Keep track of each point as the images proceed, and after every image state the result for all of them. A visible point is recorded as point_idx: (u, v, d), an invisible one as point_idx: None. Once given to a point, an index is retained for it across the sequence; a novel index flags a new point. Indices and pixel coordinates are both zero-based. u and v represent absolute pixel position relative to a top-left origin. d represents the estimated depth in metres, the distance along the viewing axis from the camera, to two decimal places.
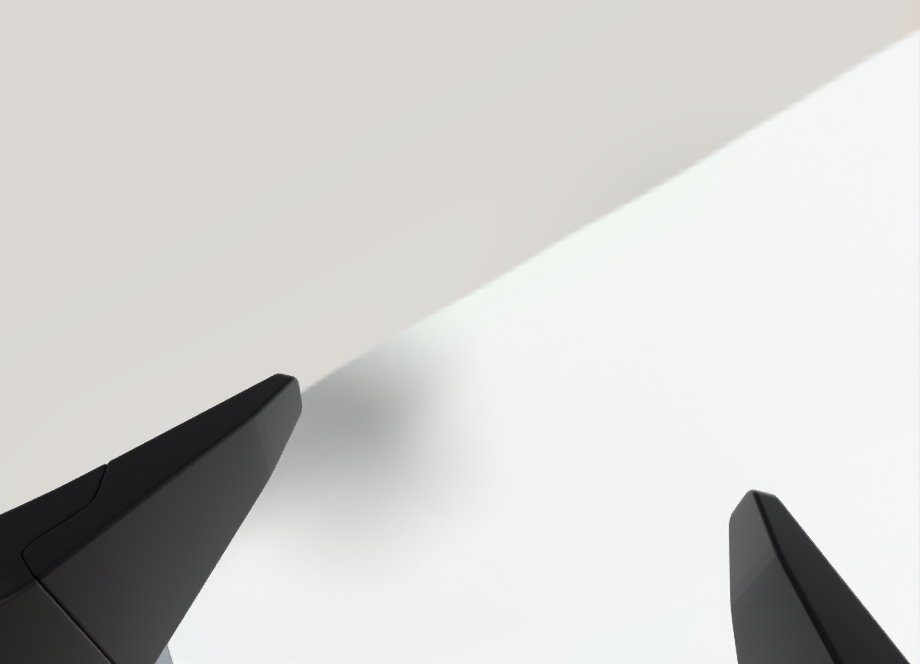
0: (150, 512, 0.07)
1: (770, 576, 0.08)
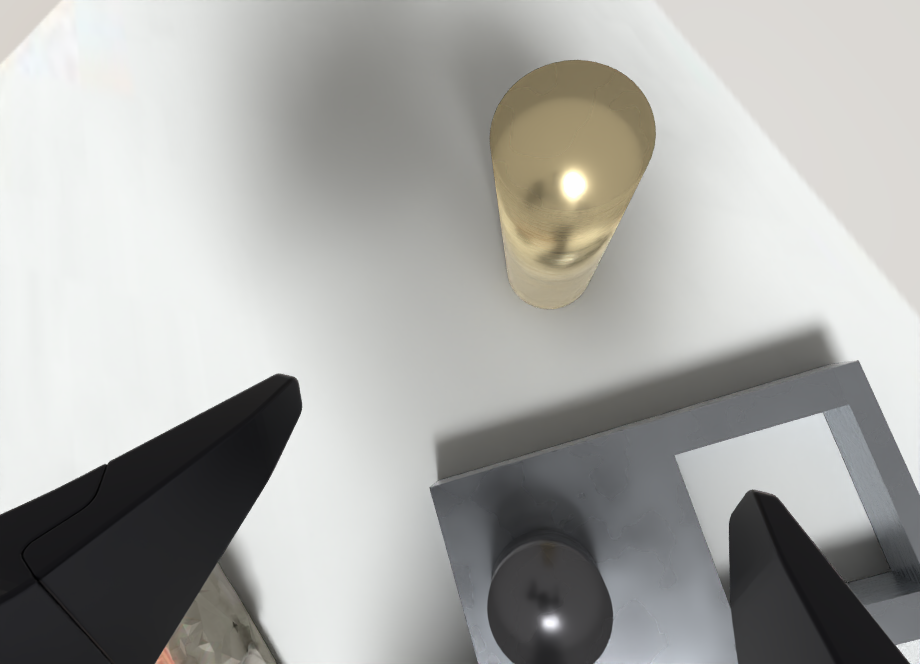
0: (150, 512, 0.07)
1: (770, 576, 0.08)
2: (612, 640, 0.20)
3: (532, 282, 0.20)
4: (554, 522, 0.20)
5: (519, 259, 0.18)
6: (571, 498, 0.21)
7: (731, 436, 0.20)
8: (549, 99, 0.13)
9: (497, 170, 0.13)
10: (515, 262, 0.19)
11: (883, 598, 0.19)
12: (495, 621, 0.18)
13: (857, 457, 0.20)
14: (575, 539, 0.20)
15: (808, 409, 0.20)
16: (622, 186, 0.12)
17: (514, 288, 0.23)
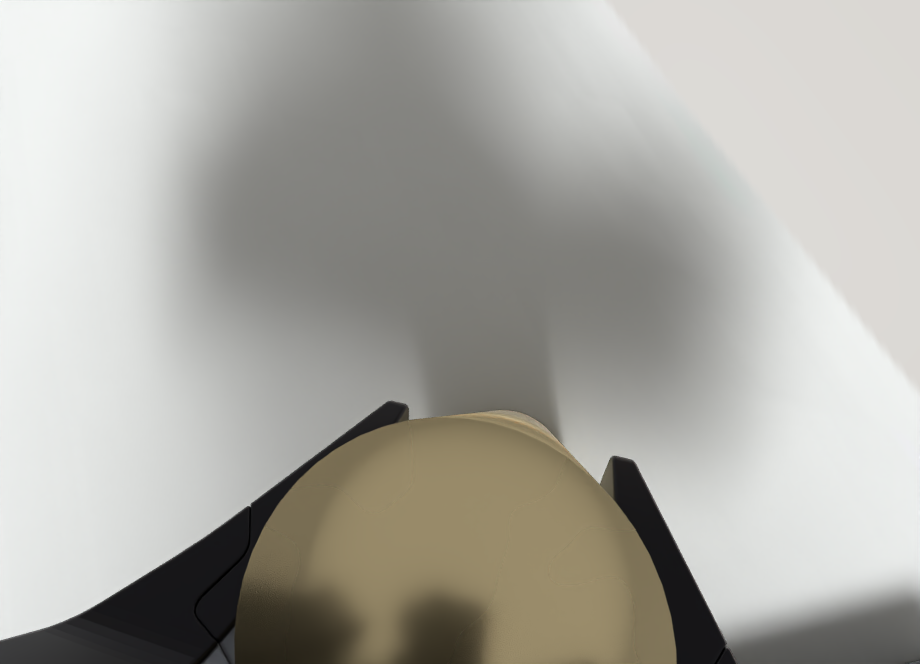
0: None
1: None
2: None
3: None
4: None
5: None
6: None
7: None
8: (391, 528, 0.05)
9: None
10: None
11: None
12: None
13: None
14: None
15: None
16: None
17: None
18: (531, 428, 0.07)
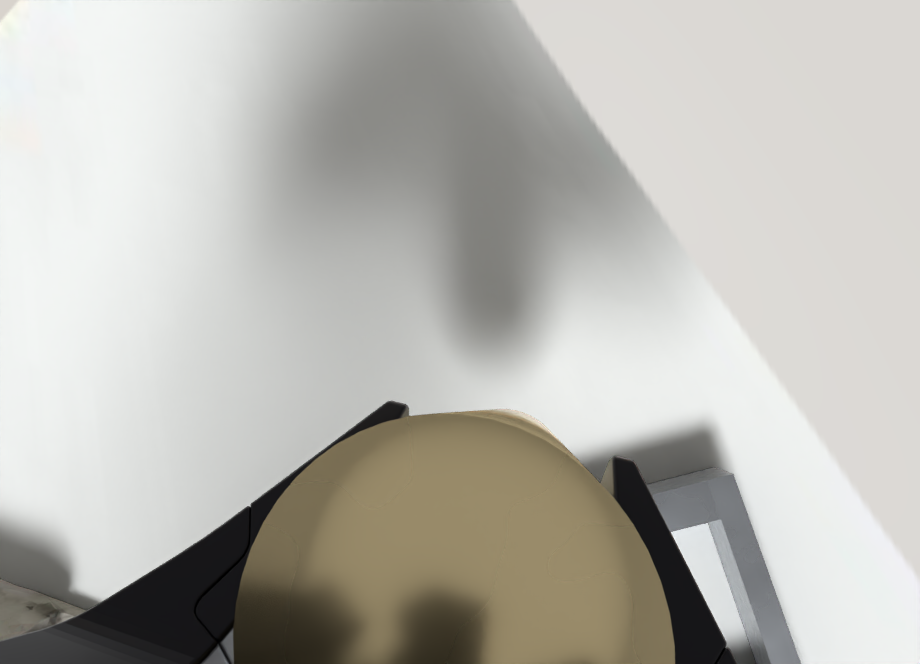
0: None
1: None
2: None
3: None
4: None
5: None
6: None
7: None
8: (390, 524, 0.05)
9: None
10: None
11: None
12: None
13: (731, 569, 0.20)
14: None
15: (680, 522, 0.20)
16: None
17: None
18: (530, 425, 0.07)
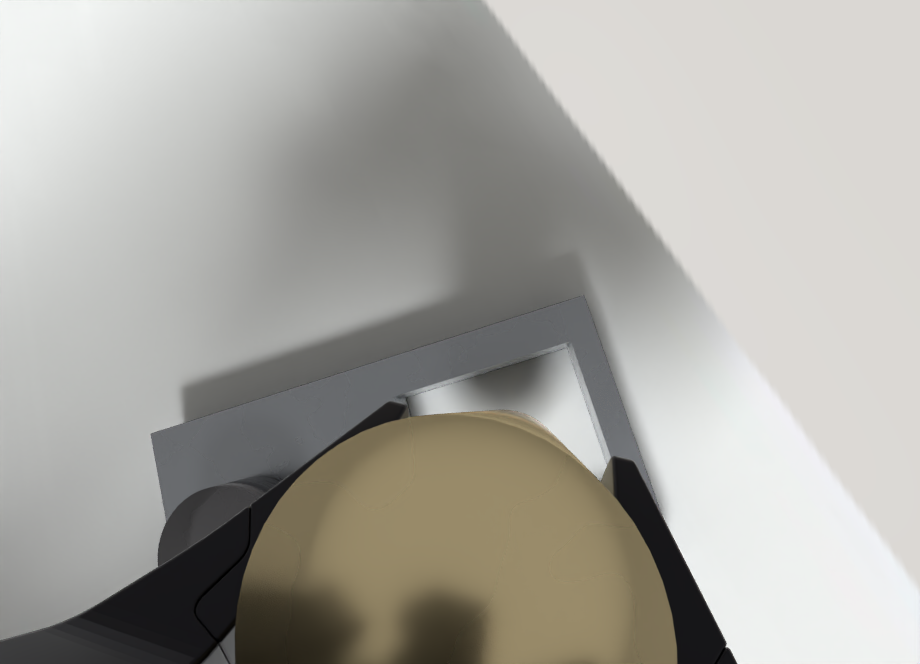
0: None
1: None
2: None
3: None
4: (270, 468, 0.19)
5: None
6: (288, 443, 0.19)
7: (451, 376, 0.19)
8: (391, 525, 0.05)
9: None
10: None
11: None
12: None
13: (587, 399, 0.19)
14: None
15: (530, 347, 0.19)
16: None
17: None
18: (531, 426, 0.07)
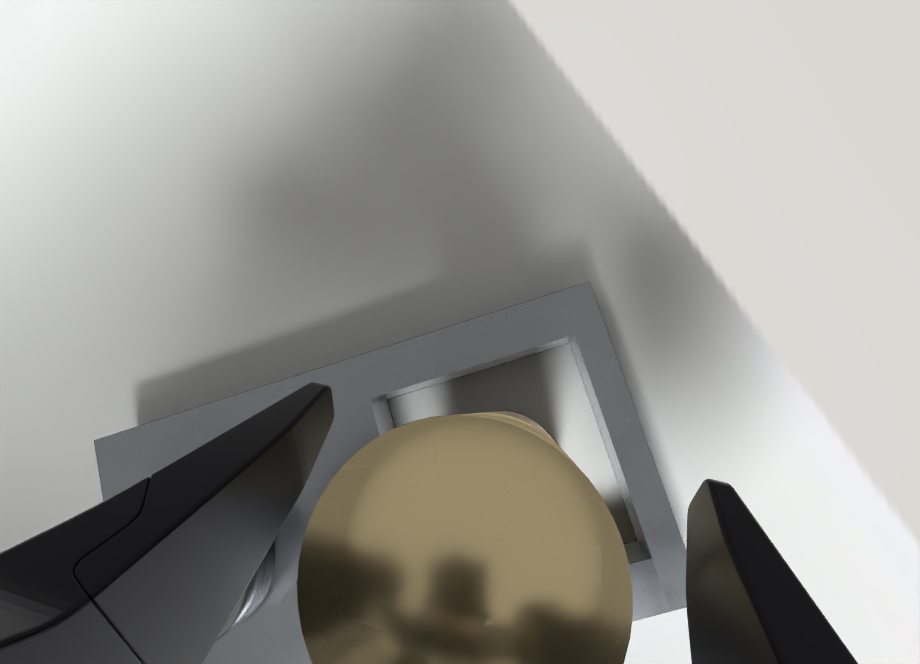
0: (195, 526, 0.07)
1: (719, 562, 0.08)
2: (281, 623, 0.16)
3: None
4: None
5: None
6: None
7: (436, 375, 0.16)
8: (417, 500, 0.06)
9: (310, 647, 0.06)
10: None
11: None
12: None
13: (594, 402, 0.17)
14: None
15: (527, 341, 0.16)
16: None
17: None
18: (526, 425, 0.08)
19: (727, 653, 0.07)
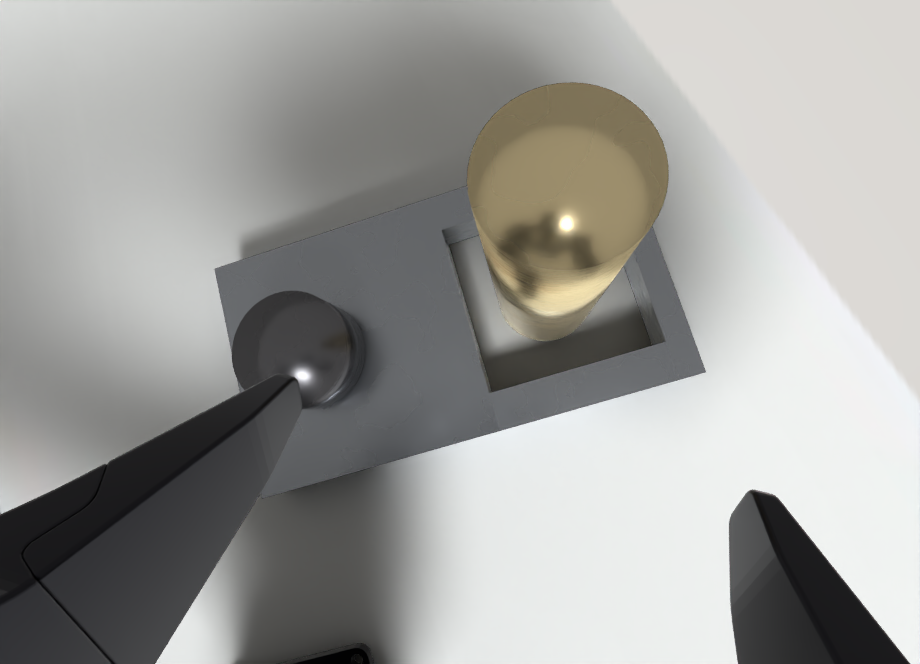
0: (150, 512, 0.07)
1: (770, 576, 0.08)
2: (371, 401, 0.20)
3: (523, 320, 0.18)
4: (326, 296, 0.21)
5: (508, 300, 0.16)
6: (344, 273, 0.21)
7: None
8: (539, 131, 0.10)
9: (475, 217, 0.10)
10: (504, 300, 0.17)
11: (623, 354, 0.19)
12: (238, 361, 0.19)
13: None
14: (344, 310, 0.21)
15: None
16: (626, 241, 0.10)
17: (505, 318, 0.21)
18: None
19: None
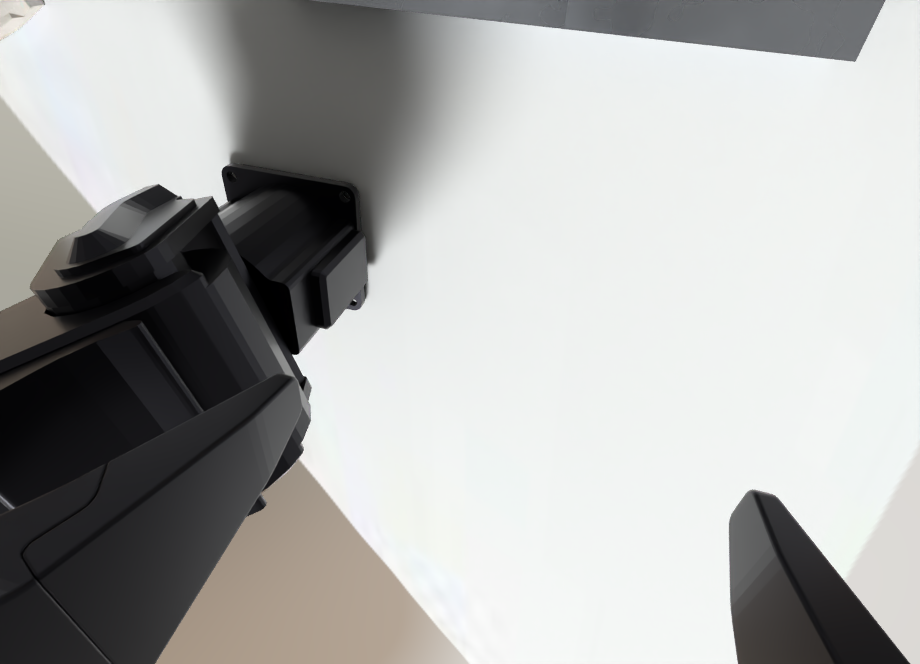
0: (150, 512, 0.07)
1: (770, 576, 0.08)
2: None
3: None
4: None
5: None
6: None
7: None
8: None
9: None
10: None
11: None
12: None
13: None
14: None
15: None
16: None
17: None
18: None
19: None
